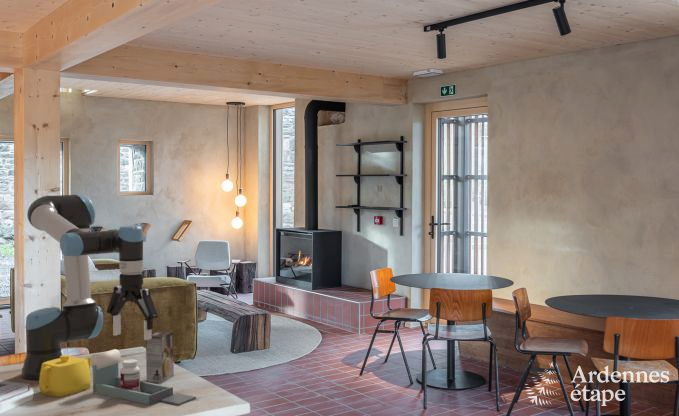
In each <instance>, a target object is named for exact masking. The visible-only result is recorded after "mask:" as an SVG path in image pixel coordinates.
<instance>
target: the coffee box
mask: <svg viewBox="0 0 679 416" xmlns="http://www.w3.org/2000/svg"><path fill="white" fill-rule="evenodd" d="M145 360H146V362H145V368H146V382H148V383H162V382H163V383H164V382H165V381H167V380H169V379H170V378H172V377H174V373H175V372H174V331H162V330H160V331H154V332H153V333H152V339H148V340H145Z"/></svg>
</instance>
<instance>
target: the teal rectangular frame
mask: <svg viewBox="0 0 679 416" xmlns="http://www.w3.org/2000/svg"><path fill="white" fill-rule="evenodd" d="M121 360H122V354H121V352H120V351H119V350H118V349H116V348H114V349H111V350H107V351H103V352H99V353H95V354H93V355H91V356H90V368H92V393H95V394H99V395H104V396H109V397H112V398H113V397H114V398H118V399H123V400H127V401H130V402H131V401H132V402H135V403H136V402H137V403H141V404H145V405H149V406H152V405H155V404H157V403H159V402H160V399H163V398H165V397H168V396H171V395H173V394H174V388H173V386H167V385H162V384H159V383H158V384H157V383H154V382H147V381H143V380H140V392H138V391H133V390H128V389H123V388H121V376H119V363H120V362H122V361H121ZM160 403H161V402H160Z"/></svg>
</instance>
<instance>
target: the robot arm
mask: <svg viewBox="0 0 679 416" xmlns="http://www.w3.org/2000/svg"><path fill="white" fill-rule="evenodd" d="M26 213H27V220H28V221H29V224H30V225H31V226H32V227H33V228H34V229H36V230H39V231H42V232H43V231H44V232H45V234H48V236H49V237H52V238H53V239H54V240H56V242H58V243H59V248H60V251H61V254H62V255H63V266H64V267H63V268H64V280H65V282H64V283H65V291H66V292H65V294H66V301H65V302H64V303H63V305H62V310H61V309H60V308H59V307H57V306H56V307H55V306H53V307H51V306H50V307H44V308H40V309H37V310H33V311H31V312H30V313H29V314H27V316H26V318H25V326H24V328H25V338H26V339H25V343H26V344H25V345H26V347H25V348H26V349H25V351H26V354H25V358H24V362H23V367H22V368H21V378H23V379H25V380H35V381H39V378H40V371H41V366H42V363H44V362H47V361H50V360H54V359H58V358H60V356H62V355H63V353H62V344H63V343H70V342H76V341H82V340H89V339H93V338H96V337H98V336H99V334H100V333H101V331H102V328H103V325H104V314H103V310H102V308H101V307H100V306H99V305H97V304H96V300H94V299H93V298H92V292H91V281H90V279H91V278H90V266H89V256H91V255H92V256H93V255H103V254H118V257H119V259H118V261H119V262H118V263H119V273H120V274H119V285H117V286H116V285H115V286H113V291H112V292H113V293H112V295H111V297H110V301H109V303H108V305H107V306H108V307H107V309H106V313H107V314H110V315H111V324H112V335H113V336H118V335H121V334H122V320H121V319H122V318H121V317H122V316H121V311H122V309H123V308H124V306H125V304H126V303H127V302H131V303H134V304H135V305H137V307H138V309H139V310H140V312H141V313H142V316H144V317H143V318H144V320H143V340H144V341H146V340H148V339H152V334H153V333H152V330H154V329H153V328H154V319H157V318H158V317H159V315H158V312H157V310H156V307H155V304H154V302H153V299H152V297H151V290H150V289H151V288H145V289H143V287H142V286H143V285H144V274H143V272H144V234H143V228H142V227H141V226H139V225H122V226H120V227H119V229H115V228H114V229H108V230H103V231H102V230H101V231H99V230H98V231H91V226H92V225H94V223H95V218H96V211H95V207H94V204H93V201H92V200H91V199H90V197H88V196H86V195H84V194H66V195H65V194H62V195H59V194H58V195H44V196H41V197H38V198H37V199H35V200H34V201H33V202H32V203H31V204H30V205H29V207H28V209H27V212H26Z"/></svg>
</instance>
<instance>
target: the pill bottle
mask: <svg viewBox="0 0 679 416" xmlns="http://www.w3.org/2000/svg"><path fill="white" fill-rule="evenodd" d="M140 370H141V369H140V367H139V366H138V360H137V359H125V360H123V361H122V367H121V368H120V371H119V373H120V376H119V377H121V387H120V388H123V389H128V390H133V391H138V392H141V391H140V381H141V371H140Z"/></svg>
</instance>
